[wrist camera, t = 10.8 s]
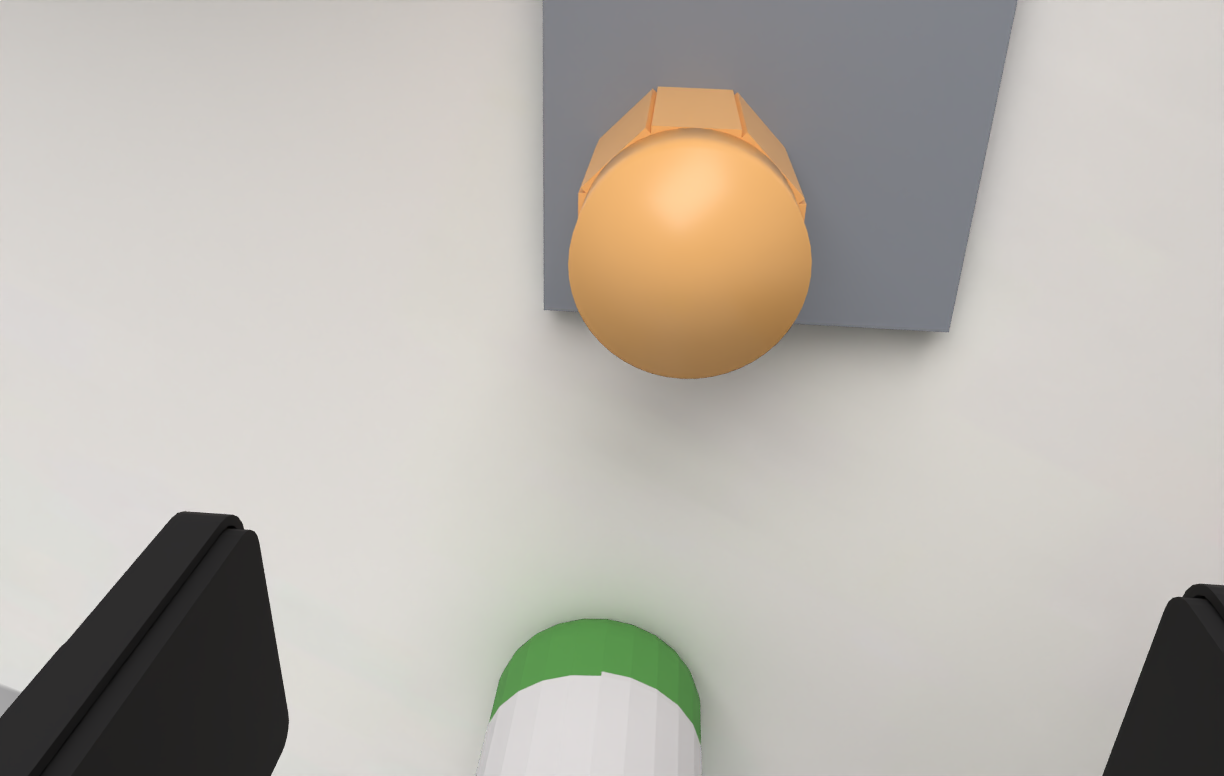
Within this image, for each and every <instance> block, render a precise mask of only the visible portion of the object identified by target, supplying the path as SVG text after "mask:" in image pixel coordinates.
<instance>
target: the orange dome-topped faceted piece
mask: <svg viewBox="0 0 1224 776" xmlns="http://www.w3.org/2000/svg"><path fill="white" fill-rule="evenodd" d="M805 212H806V202H805V198H804V195H803V193H802V190H801V188H800V185H799V183H798V180H797V177H796V175H795V172H794V170H793V167H792V165H791V162H790V159H789V157H788V154H787V152H786V149H785V147H784V146H783V145H782V144H781V143H780V141H779V140H778V139H777V138H776V137H775V135H774V134H773V133H772V132H771V131H770V130H769V128H768V127H767V126H766V125H765V124H764V123H763V121H762V120H761V119H760V118H759V117H758V115H757V114H756V113H755V112H754V111H753V110H752V108H751V107H750V106H749V105H748V104H747V103H746V101H745V100H744V99H743V98H742V97H741V95H740V94H739V93H738V92H737V93H736V94H735V95H734V92H733V90H726V89H703V88H680V87H658V89H657V92H656V91H655V90H654V89H652V90H651V91H650V92H649V93H647V94H646V95H645V96H644V97H643V98H642V99H641V100H640V101H639V102H638V103H637V104H636V105H635V106H634V107H633V108H632V109H630V110H629V111H628V112H627V113H626V114H625V115H624V116H623V117H622V118H621V119H620V120H619V121H618V122H617V123H616V124H615V125H614V126H612V127H611V128H610V129H609V130H608V131H607V132H606V133H605V134H604V135H603V136H602V137H601V138H600V139H599V141H598V143H597V145H596V148H595V150H594V153H593V156H592V158H591V161H590V164H589V166H588V169H587V171H586V174H585V177H584V179H583V182H582V185H581V187H580V190H579V193H578V220H577V223H576V226H575V228H574V231H573V234H572V239H571V243H570V248H569V259H568V270H569V281H570V286H571V291H572V295H573V298H574V301H575V304H576V307H577V309H578V311H579V313H580V315H581V317H582V319H583V321H584V322H585V324H586V325H587V327H588V328H589V330H590V331H591V332H592V334H593V335H594V336H595V337H596V338H597V339H598V340H599V342H600V343H601V344H602V345H604V346H605V347H606V348H607V349H608V350H609V351H610V352H612V353H613V354H614V355H616V356H617V357H619V358H620V359H622V360H623V361H625V362H627V363H628V364H630V365H632V366H634V367H636V368H638V369H641V370H644V371H647V372H649V373H652V374H656V375H660V376H665V377H672V378H680V379H697V378H706V377H713V376H717V375H721V374H725V373H728V372H731V371H734V370H736V369H739V368H741V367H743V366H745V365H747V364H749V363H751V362H753V361H755V360H756V359H758V358H759V357H761V356H762V355H764V354H765V353H766V352H768V351H769V350H770V349H771V348H772V347H773V346H775V345H776V344H777V343H778V342H779V341H780V340H781V338H782V337H783V336H784V335H785V334H786V333H787V332H788V330H789V329H790V327H791V326H792V324H793V323H794V321H795V320H796V318H797V316H798V314H799V312H800V310H801V309H802V307H803V304H804V301H805V298H806V295H807V293H808V288H809V284H810V279H811V267H812V257H811V246H810V241H809V237H808V232H807V229H806V226H805V223H804V220H805Z"/></svg>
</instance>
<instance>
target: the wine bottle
mask: <svg viewBox="0 0 1224 776" xmlns="http://www.w3.org/2000/svg"><path fill="white" fill-rule="evenodd" d="M476 776H702V749H701V725H700V699H699V695H698V692H697V689H696V687H695V684H694V681H693V678H692V675H691V673H690V671H689V669H688V668H687V666H686V665H685V664H684V662H683V661H682V660H681V659H680V657H679V656H678V655H677V653H676V652H675V651H674V650H673V649H672V648H671V647H669V646H668V645H667V644H665V643H664V642H663V641H662V640H660V639H659V638H658V637H656V636H655V635H653V634H651V633H649V632H647V631H645V630H642V629H640V628H638V627H636V626H634V625H631V624H626V623H622V622H617V621H613V620H608V619H580V620H575V621H570V622H565V623H560V624H557V625H555V626H553V627H551V628H548V629H546V630H544V631H542V632H540V633H538V634H536V635H535V636H533V637H532V638H531V639H530V640H529V641H527V642H526V643H525V644H524V645H523V646H521V647H520V648H519V649H518V650H517V651H516V652H515V654H514V655H513V657H512V659H511V660H510V662H509V663H508V665H507V666H506V668H505V670H504V671H503V673H502V675H501V678H500V680H499V684H498V688H497V692H496V697H495V701H494V705H493V709H492V713H491V717H490V721H489V724H488V726H487V730H486V734H485V738H484V743H483V747H482V751H481V755H480V759H479V763H478V767H477V772H476Z"/></svg>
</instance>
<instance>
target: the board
mask: <svg viewBox="0 0 1224 776" xmlns="http://www.w3.org/2000/svg"><path fill="white" fill-rule="evenodd" d="M1016 5H1017V0H543V189H544V310H555V311H573V312H579V311H578V309H577V307H576V304H575V301H574V298H573V295H572V291H571V286H570V281H569V270H568V259H569V248H570V243H571V239H572V234H573V231H574V228H575V226H576V223H577V220H578V193H579V190H580V187H581V185H582V182H583V179H584V177H585V174H586V171H587V169H588V166H589V164H590V161H591V158H592V156H593V153H594V150H595V148H596V145H597V143H598V141H599V139H600V138H601V137H602V136H603V135H604V134H605V133H606V132H607V131H608V130H609V129H610V128H611V127H612V126H614V125H615V124H616V123H617V122H618V121H619V120H620V119H621V118H622V117H623V116H624V115H625V114H626V113H627V112H628V111H629V110H630V109H632V108H633V107H634V106H635V105H636V104H637V103H638V102H639V101H640V100H641V99H642V98H643V97H644V96H645V95H646V94H647V93H649V92H650V91H651V90H652V89H654V90H655V91H656V92H657V89H658V87H680V88H703V89H726V90H733V92H734V95H735V94H736V93H737V92H738V93H739V94H740V95H741V97H742V98H743V99H744V100H745V101H746V103H747V104H748V105H749V106H750V107H751V108H752V110H753V111H754V112H755V113H756V114H757V115H758V117H759V118H760V119H761V120H762V121H763V123H764V124H765V125H766V126H767V127H768V128H769V130H770V131H771V132H772V133H773V134H774V135H775V137H776V138H777V139H778V140H779V141H780V143H781V144H782V145H783V146H784V147H785V149H786V152H787V154H788V157H789V159H790V162H791V165H792V167H793V170H794V172H795V175H796V177H797V180H798V183H799V185H800V188H801V190H802V193H803V195H804V198H805V202H806V212H805V220H804V223H805V226H806V229H807V232H808V237H809V241H810V246H811V257H812V267H811V279H810V284H809V288H808V293H807V295H806V298H805V301H804V304H803V307H802V309H801V310H800V312H799V314H798V316H797V318H796V320H795V321H794V323H793V324H809V325H827V326H845V327H863V328H881V329H899V330H917V331H935V332H949V328H950V323H951V319H952V314H953V309H954V304H955V299H956V295H957V290H958V285H959V280H960V275H961V270H962V266H963V261H964V256H965V251H966V246H967V241H968V237H969V232H970V227H971V222H972V217H973V213H974V208H975V203H976V198H977V193H978V188H979V184H980V179H981V174H982V169H983V164H984V159H985V155H986V150H987V145H988V140H989V135H990V130H991V126H992V121H993V116H994V111H995V106H996V102H997V97H998V92H999V87H1000V82H1001V77H1002V73H1003V68H1004V63H1005V58H1006V53H1007V48H1008V44H1009V39H1010V34H1011V29H1012V24H1013V19H1014V15H1015V10H1016Z"/></svg>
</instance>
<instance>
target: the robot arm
mask: <svg viewBox="0 0 1224 776" xmlns="http://www.w3.org/2000/svg"><path fill="white" fill-rule="evenodd" d="M288 725H289V717H288V709H287V703H286V697H285V691H284V685H283V680H282V674H281V668H280V662H279V656H278V650H277V644H276V638H275V632H274V627H273V621H272V615H271V609H270V603H269V597H268V591H267V585H266V579H265V574H264V568H263V562H262V556H261V550H260V544H259V540H258V536H257V535H256V533H255V532H254V531H252V530H244V528H243V524H242V522H241V521H240V519H239V518H238V517H237V516H235V515H228V514H214V513H200V512H186V511H183V512H180V513H177V514H176V515H175V516H174V517H172V518H171V519H170V520H169V522H168V523H167V524H166V525H165V526H164V528H163V529H162V530H161V531H160V532H159V533H158V535H157V536H156V537H155V538H154V539H153V540H152V542H151V543H150V544H149V545H148V546H147V548H146V549H145V550H144V551H143V552H142V553H141V555H140V556H139V557H138V558H137V559H136V561H135V562H134V563H133V564H132V565H131V566H130V568H129V569H128V570H127V571H126V572H125V573H124V575H123V576H122V577H121V578H120V579H119V581H118V582H117V583H116V584H115V585H114V586H113V588H112V589H111V590H110V591H109V592H108V594H107V595H106V596H105V597H104V598H103V599H102V601H101V602H100V603H99V604H98V605H97V606H96V608H95V609H94V610H93V611H92V612H91V614H90V615H89V616H88V617H87V618H86V619H85V621H84V622H83V623H82V624H81V625H80V627H79V628H78V629H77V630H76V631H75V632H74V634H73V635H72V636H71V637H70V638H69V639H68V641H67V642H66V643H65V644H63V645H62V646H61V647H60V648H59V649H58V651H57V652H56V653H55V654H54V655H53V656H52V658H51V659H50V660H49V661H48V662H47V663H46V665H45V666H44V667H43V668H42V669H41V671H40V672H39V673H38V674H37V675H36V676H35V678H34V679H33V680H32V681H31V682H30V683H29V685H28V686H27V687H26V688H25V689H24V690H23V692H22V693H21V694H20V695H19V696H18V698H17V699H16V700H15V701H14V702H13V703H12V705H11V706H10V707H9V708H8V709H7V710H6V712H5V713H4V714H3V715H2V716H1V718H0V776H271V774H272V772H273V770H274V768H275V766H276V764H277V762H278V760H279V758H280V755H281V753H282V751H283V748H284V746H285V742H286V739H287V733H288ZM1103 776H1224V585H1211V584H1196V585H1192V586H1191V587H1190V588H1189V589H1188V590H1186V592H1185V594H1184V596H1183V597H1175V598H1172V599H1171V600H1170V601H1169V602H1168V604H1167V606H1166V608H1165V610H1164V612H1163V615H1162V618H1161V620H1160V623H1159V626H1158V628H1157V631H1156V634H1155V637H1154V639H1153V642H1152V645H1151V647H1150V650H1149V653H1148V655H1147V658H1146V661H1145V663H1144V666H1143V669H1142V671H1141V674H1140V677H1139V679H1138V682H1137V685H1136V687H1135V690H1134V693H1133V695H1132V698H1131V701H1130V703H1129V706H1128V709H1127V711H1126V714H1125V717H1124V719H1123V722H1122V725H1121V727H1120V730H1119V733H1118V735H1117V738H1116V741H1115V743H1114V746H1113V749H1112V751H1111V754H1110V757H1109V759H1108V762H1107V765H1106V768H1105V770H1104V773H1103Z"/></svg>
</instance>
